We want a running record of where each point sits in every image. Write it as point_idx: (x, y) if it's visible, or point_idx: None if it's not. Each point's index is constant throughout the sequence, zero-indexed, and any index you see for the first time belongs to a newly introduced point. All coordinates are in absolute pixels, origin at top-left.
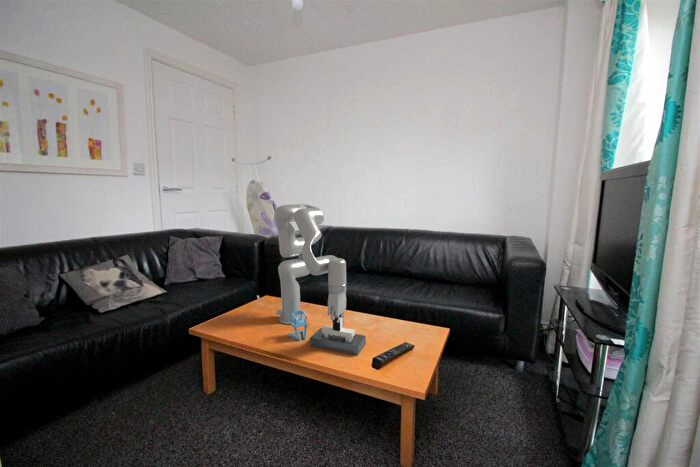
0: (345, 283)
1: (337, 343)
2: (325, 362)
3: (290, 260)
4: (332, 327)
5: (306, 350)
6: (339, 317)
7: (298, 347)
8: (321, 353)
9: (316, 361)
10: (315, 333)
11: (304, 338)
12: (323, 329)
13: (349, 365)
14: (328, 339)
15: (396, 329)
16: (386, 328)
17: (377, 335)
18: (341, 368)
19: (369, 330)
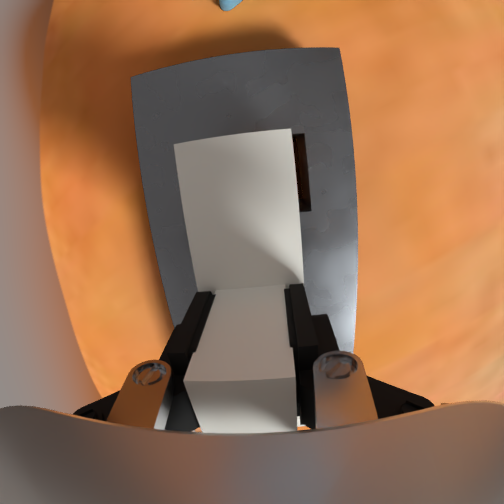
0: None
1: (174, 314)
2: (74, 281)
3: None
4: (264, 244)
5: (106, 110)
6: (277, 425)
7: (116, 47)
8: (120, 213)
9: (57, 237)
10: (216, 64)
11: (220, 2)
12: (177, 168)
13: (124, 377)
14: (172, 235)
15: (485, 395)
16: (496, 366)
17: (438, 374)
18: (90, 357)
19: (482, 320)
